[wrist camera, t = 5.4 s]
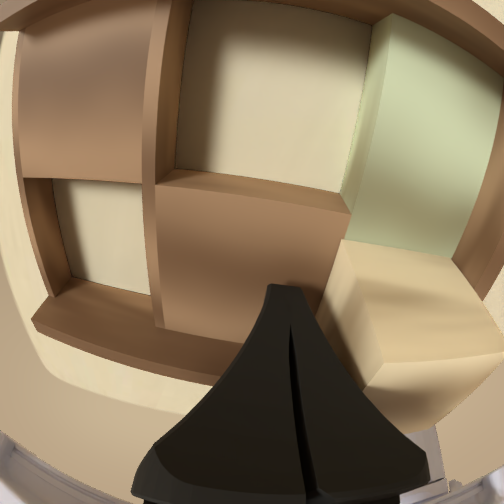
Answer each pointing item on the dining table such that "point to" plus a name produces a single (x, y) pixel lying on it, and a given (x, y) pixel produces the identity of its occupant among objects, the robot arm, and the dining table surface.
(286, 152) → the dining table surface
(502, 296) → the dining table surface
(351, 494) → the robot arm
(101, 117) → the frame
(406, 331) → the birch block
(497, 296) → the dining table surface
